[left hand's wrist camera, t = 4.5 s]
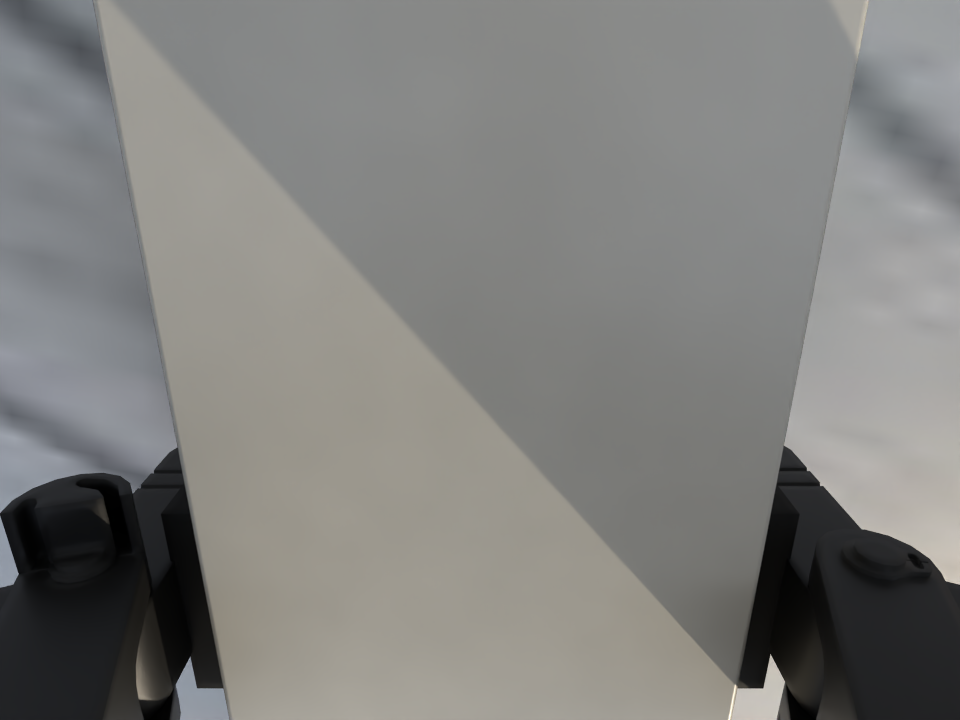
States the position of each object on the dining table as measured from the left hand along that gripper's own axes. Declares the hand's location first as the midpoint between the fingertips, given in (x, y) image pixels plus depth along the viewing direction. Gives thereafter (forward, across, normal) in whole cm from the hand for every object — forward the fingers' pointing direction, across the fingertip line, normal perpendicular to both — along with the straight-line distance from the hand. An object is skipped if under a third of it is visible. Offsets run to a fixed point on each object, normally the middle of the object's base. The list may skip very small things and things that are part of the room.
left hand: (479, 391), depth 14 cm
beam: (0, 0, -21) cm, 21 cm away
